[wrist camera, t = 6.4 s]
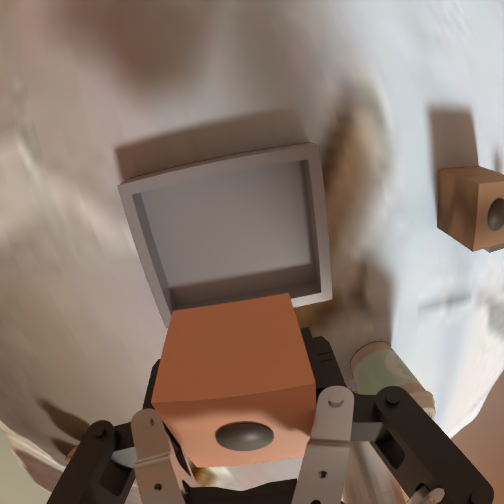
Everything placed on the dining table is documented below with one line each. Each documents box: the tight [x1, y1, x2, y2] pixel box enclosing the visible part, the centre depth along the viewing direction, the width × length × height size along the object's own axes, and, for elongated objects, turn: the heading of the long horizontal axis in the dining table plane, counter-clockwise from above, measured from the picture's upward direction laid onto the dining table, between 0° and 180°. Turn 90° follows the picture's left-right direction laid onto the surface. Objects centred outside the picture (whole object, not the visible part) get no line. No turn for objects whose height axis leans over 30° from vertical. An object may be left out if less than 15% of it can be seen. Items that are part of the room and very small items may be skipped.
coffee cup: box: [351, 342, 435, 420], centre depth 30 cm, size 8×9×12 cm
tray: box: [118, 142, 332, 328], centre depth 26 cm, size 14×16×3 cm
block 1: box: [151, 293, 316, 467], centre depth 11 cm, size 5×5×5 cm
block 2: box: [437, 166, 504, 252], centre depth 24 cm, size 6×6×7 cm
